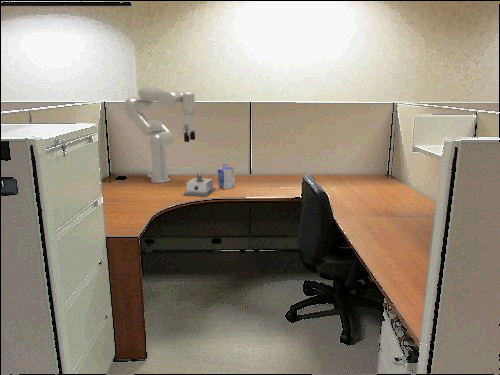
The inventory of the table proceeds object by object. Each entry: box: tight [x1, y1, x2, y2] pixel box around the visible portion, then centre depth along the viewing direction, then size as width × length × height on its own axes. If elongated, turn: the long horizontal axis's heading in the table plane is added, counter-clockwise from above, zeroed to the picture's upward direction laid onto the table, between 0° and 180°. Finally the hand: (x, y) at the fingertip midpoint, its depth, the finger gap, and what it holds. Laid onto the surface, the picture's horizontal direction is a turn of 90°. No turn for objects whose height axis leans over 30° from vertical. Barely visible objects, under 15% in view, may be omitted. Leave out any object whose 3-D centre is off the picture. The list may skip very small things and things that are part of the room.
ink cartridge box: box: [217, 163, 236, 190], centre depth 271 cm, size 10×6×14 cm, turn 141°
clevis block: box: [183, 177, 217, 198], centre depth 260 cm, size 14×18×7 cm
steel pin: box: [196, 173, 203, 182], centre depth 259 cm, size 3×3×10 cm
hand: (189, 140), depth 273 cm, fingers open, 9 cm apart
